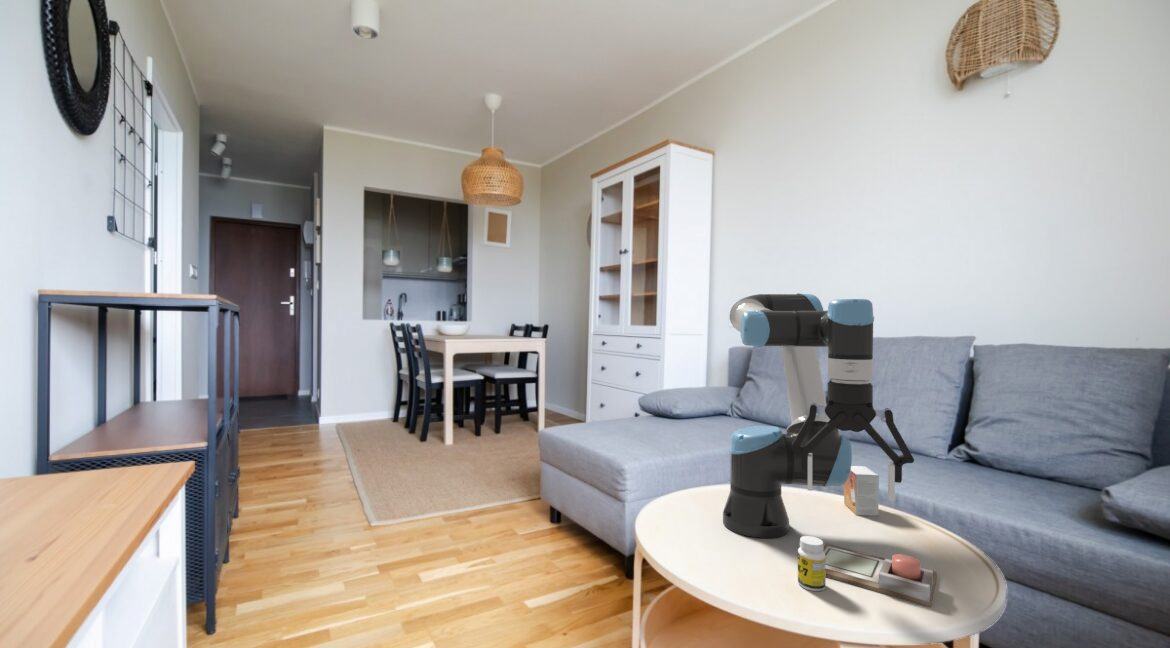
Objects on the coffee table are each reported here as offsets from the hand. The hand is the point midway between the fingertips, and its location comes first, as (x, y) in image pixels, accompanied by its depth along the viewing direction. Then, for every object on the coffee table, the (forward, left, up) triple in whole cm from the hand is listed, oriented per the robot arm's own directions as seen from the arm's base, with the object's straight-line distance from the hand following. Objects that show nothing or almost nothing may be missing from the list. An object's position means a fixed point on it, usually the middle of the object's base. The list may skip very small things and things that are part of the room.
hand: (849, 493), depth 95 cm
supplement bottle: (-5, -6, -17) cm, 19 cm away
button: (+9, +3, -14) cm, 17 cm away
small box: (-5, +42, -17) cm, 46 cm away
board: (+3, +6, -17) cm, 18 cm away
